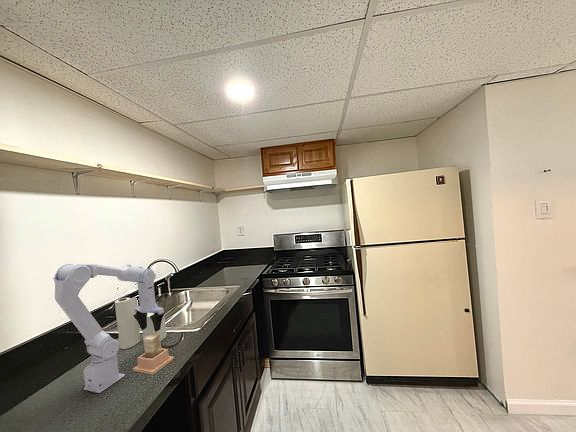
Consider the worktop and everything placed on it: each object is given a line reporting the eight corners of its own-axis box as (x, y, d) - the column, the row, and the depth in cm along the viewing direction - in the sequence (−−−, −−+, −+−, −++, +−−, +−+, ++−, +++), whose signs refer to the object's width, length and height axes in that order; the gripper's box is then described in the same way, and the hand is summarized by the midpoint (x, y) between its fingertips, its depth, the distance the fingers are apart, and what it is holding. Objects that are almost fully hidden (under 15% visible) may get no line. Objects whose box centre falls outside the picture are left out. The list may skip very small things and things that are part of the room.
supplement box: (167, 335, 127) (164, 309, 127) (158, 343, 120) (155, 316, 119) (152, 336, 128) (149, 310, 127) (143, 344, 120) (139, 317, 120)
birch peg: (154, 365, 100) (151, 339, 100) (146, 364, 102) (143, 338, 101) (162, 359, 104) (159, 334, 104) (155, 358, 106) (152, 333, 105)
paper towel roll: (117, 350, 117) (111, 302, 116) (124, 343, 123) (118, 298, 122) (134, 348, 118) (129, 300, 117) (140, 341, 124) (135, 296, 123)
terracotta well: (153, 374, 96) (151, 362, 96) (133, 371, 100) (131, 359, 100) (174, 359, 106) (172, 348, 105) (155, 356, 109) (154, 345, 109)
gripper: (168, 294, 111) (171, 326, 112) (142, 293, 116) (146, 324, 117) (154, 300, 104) (157, 334, 105) (127, 299, 110) (131, 331, 110)
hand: (150, 329), depth 110 cm, fingers open, 7 cm apart
